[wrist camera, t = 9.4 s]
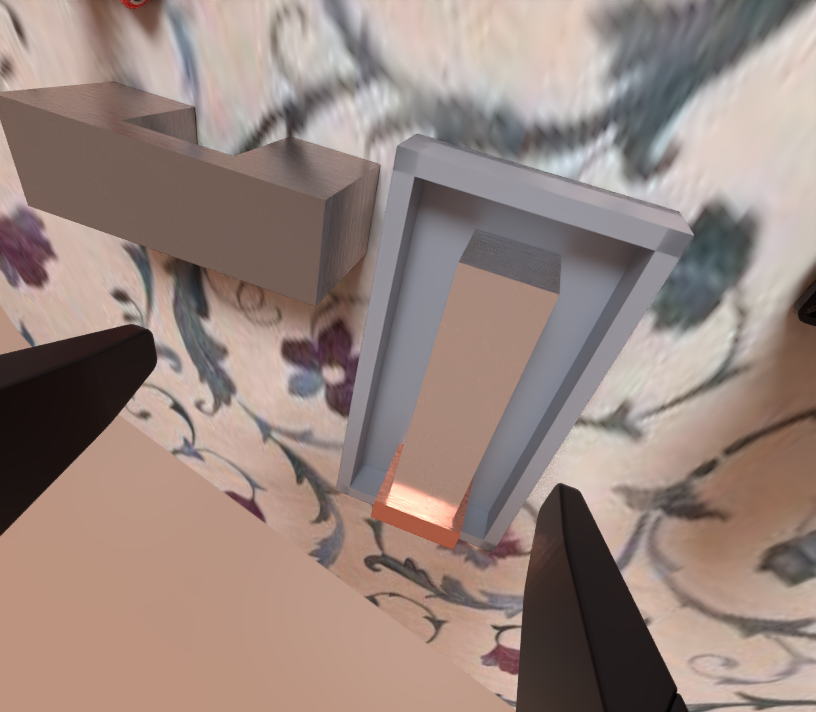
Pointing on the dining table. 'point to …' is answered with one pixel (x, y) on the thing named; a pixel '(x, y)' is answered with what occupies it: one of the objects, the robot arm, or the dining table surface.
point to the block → (191, 186)
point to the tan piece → (468, 382)
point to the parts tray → (563, 332)
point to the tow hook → (133, 3)
